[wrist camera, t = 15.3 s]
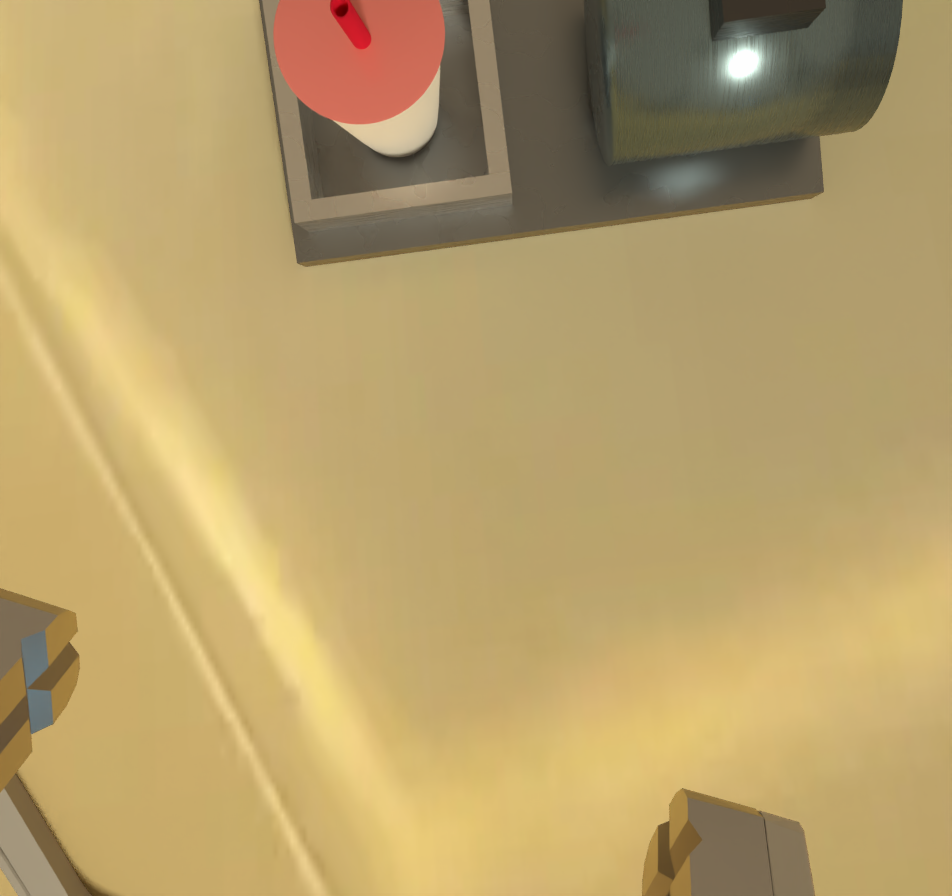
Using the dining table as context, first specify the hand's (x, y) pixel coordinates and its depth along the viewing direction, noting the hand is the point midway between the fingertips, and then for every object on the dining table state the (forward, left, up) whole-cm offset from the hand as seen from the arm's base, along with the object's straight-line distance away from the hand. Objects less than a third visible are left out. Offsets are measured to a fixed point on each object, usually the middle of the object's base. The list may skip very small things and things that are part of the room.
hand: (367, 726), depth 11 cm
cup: (+1, -15, -26) cm, 30 cm away
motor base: (-5, -15, -27) cm, 32 cm away
